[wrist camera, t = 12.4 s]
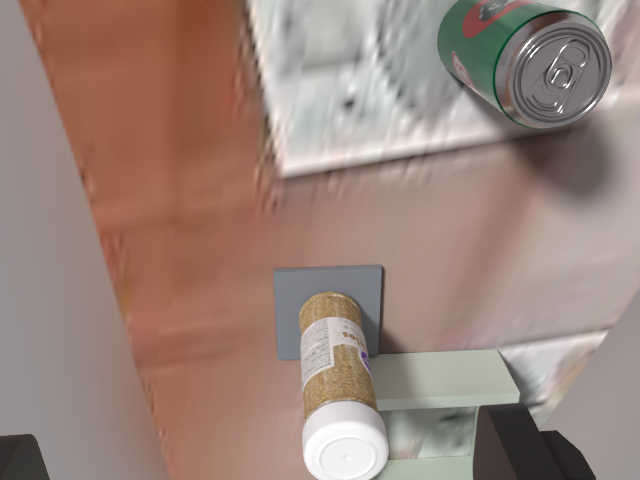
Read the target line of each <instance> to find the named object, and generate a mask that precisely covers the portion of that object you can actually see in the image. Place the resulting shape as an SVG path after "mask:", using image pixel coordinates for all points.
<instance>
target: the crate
mask: <svg viewBox="0 0 640 480" xmlns="http://www.w3.org/2000/svg"><path fill="white" fill-rule="evenodd" d="M368 359H369V364H370V369H371V374H372V379H373V388H374V393H375V398H376V404H377V408H378V411H386V410H406V409H427V408H448V407H469V406H476V413H475V420H474V427H473V435H472V442H471V449H470V456H453V457H434V458H415V459H396V460H387V462H386V464H385V466H384V468H383V469H382V470H381V471H380V472H379V473H378V474H377V475H376V476H374V477H373V478H371V479H370V480H473V471H472V467H473V456H474V446H475V437H476V427H477V417H478V411H479V408H480V406H481V405H494V404H509V403H518V402H519V396H520V392H519V390H518V388H517V386H516V384H515V382H514V381H513V379H512V377H511V375H510V373H509V371H508V369H507V367H506V365H505V364H504V362H503V360H502V358H501V356H500V354H499V352H498V350H497V349H491V350H468V351H445V352H422V353H399V354H378V356H368Z"/></svg>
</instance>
